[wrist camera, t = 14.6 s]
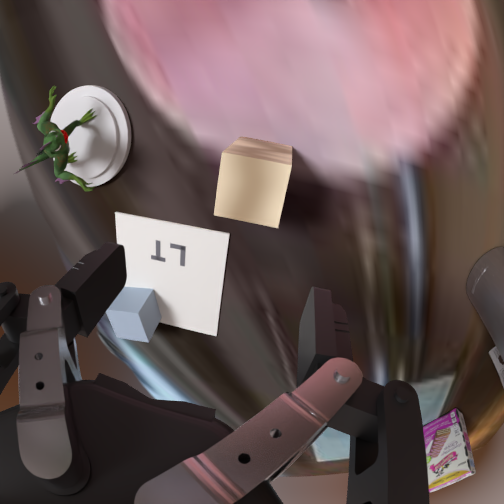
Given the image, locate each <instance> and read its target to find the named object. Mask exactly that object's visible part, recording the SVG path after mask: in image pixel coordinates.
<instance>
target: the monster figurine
mask: <svg viewBox="0 0 504 504" xmlns="http://www.w3.org/2000/svg"><path fill="white" fill-rule="evenodd" d="M54 86H55V85H54ZM54 86H53V87H52V88H51V89H50V92H49V94H50V97H49V101H50V106H49V108H48V109H47V110H46V111H45V112H43V113H42V115H40V116H38V117H36V119H37V121H36V122H35V123H32V124H36V123H38V124H37V128H38V129H39V130H40V131H41V132H42V133H43V134H44V135H45V136H44V137H45V139H44V145H43V146H42V148H40V150H42V151H40V153H39V156H38V157H37V158H35V159H34V160H33V161H31V162H30V163H28V164H26V165H24V166H22V168H21V169H20V170H19V171H21V170H23V169H25V168H28V167H30V166H32V165H34V164H37V163H39V162H41V161H43V160H45V159H47V158H53V159H54V173H55V176H56V177H58V179H57V180H56V181H60V184H61V183H63V182H65V181H70V180H71V181H72V182H74V183H76V184H78V185H80V186H82V188H83V189H84V190H85V191H93V190H90V189H92V188H94V187H93V186H98V185H101V184H103V183H105V182H107V181H108V180H110V179H112V178H113V177H114V176H115V175H116V174H117V173H118V172H119V171H120V170H121V168H122V167H123V165H124V163H125V162H126V159H127V157H128V154H129V150H130V146H131V126H130V120H129V117H128V114H127V111H126V109H125V107H124V105H123V104H122V102H121V101H120V99H119V98H118V97H117V96H116V95H115V94H114V93H112V92H111V91H110V90H108V89H106V88H104V87H100V86H94V85H89V86H82V87H78V88H76V89H73V90H72V91H70V92H69V93H67V94H66V95H65V96H64V97H63V98H62V99H61V100H60V102H59V103H58V104H57V106H56V108H55V110H54V112H53V114H52V118H51V121H48V119H49V117H50V115H51V113H52V111H53V107H54V104H55V98H56V96H57V95H55V96H54V97H53V95H52V94H53V93H54V90H55V89H56V87H55V88H54ZM53 88H54V89H53ZM52 89H53V90H52ZM41 152H42V154H41ZM37 155H38V153H37ZM37 155H36V156H37ZM19 171H18V172H19ZM56 181H55V182H56ZM89 187H90V188H89Z"/></svg>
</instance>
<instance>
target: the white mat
mask: <svg viewBox="0 0 504 504" xmlns="http://www.w3.org/2000/svg"><path fill="white" fill-rule="evenodd" d="M115 217H116V234H117V244H120V245H123V246H124V248H125V258H126V270H127V280H126V284H125V286H124V287H136V288H150V289H153V290H154V293H155V297H156V300H157V304H158V307H159V310H160V314H161V317H162V318H161V320H160V322H161V323H165V324H168V325H172V326H176V327H180V328H184V329H188V330H192V331H196V332H201V333H205V334H209V335H214V336H217V329H218V321H219V312H220V304H221V296H222V288H223V280H224V272H225V265H226V257H227V250H228V242H229V235H230V233H225V232H220V231H215V230H210V229H204V228H199V227H194V226H189V225H184V224H178V223H173V222H168V221H163V220H157V219H152V218H147V217H141V216H136V215H131V214H125V213H120V212H115Z"/></svg>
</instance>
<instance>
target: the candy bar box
mask: <svg viewBox="0 0 504 504" xmlns="http://www.w3.org/2000/svg"><path fill="white" fill-rule="evenodd" d="M423 432H424V440H425V448H426V458H427V469H428V484H429V492H433V491H436V490H438V489H441V488H443V487H446V486H448V485H450V484H453V483H455V482H457V481H460V480H462V479H464V478H466V477H468V476H470V475H472V474H475V473H476V471H475V465H474V461H473V455H472V451H471V446H470V442H469V438H468V434H467V430H466V425H465V422H464V418H463V415H462V413H461V412H460V411H459V410H458V409H457V408H455V409H453V410H452V411H450V412H448V413H446V414H445V415H443V416H441V417H439V418H437V419H436V420H434V421H432V422H430V423H428V424H426V425H424V426H423Z"/></svg>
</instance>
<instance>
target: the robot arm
mask: <svg viewBox="0 0 504 504" xmlns="http://www.w3.org/2000/svg"><path fill="white" fill-rule="evenodd" d="M126 280H127V270H126V258H125V248H124V246H123V245H120V244H116V243H111V242H106V243H105V244H104V245H103V246H101V247H100V248H99V249H98V250H95V251H93V252H91V253H89V254H87V255H85V256H84V257H83V258H82V259H81V260H80V261H79V263H77V264H76V265H75V266H74V267H73V268H71V269H70V270H69V271H68V272H67V273H66V274H65V276H63V277H62V278H61V279H60V280H59V281H58V282H57V284H55V286H52V285H45V286H42V287H39V288H37V289H36V290H34V291H33V292H32V293H31V295H30V294H18V292H17V289H16V286H15V285H14V284H13V283H11V282H3V283H0V326H1V325H2V327H3V330H4V332H5V333H4V335H3V336H2V337H1V338H0V394H1V393H2V391H3V389H4V388H5V386H6V384H7V383H8V381H9V379H10V378H11V376H12V375H13V373H14V371H15V370H16V369H17V367H18V365H19V403H20V404H19V405H16V406H14V407H11V408H9V409H6V410H4V411H2V412H0V504H283V502H282V501H281V499H280V498H279V497H278V495H277V493H276V492H275V490H274V489H273V487H272V486H271V484H270V483H272V482H273V481H274V480H275V479H276V478H277V477H278V476H280V475H281V474H282V473H283V472H284V471H285V470H286V469H287V468H288V467H289V466H290V465H291V464H292V463H293V462H294V461H295V460H296V459H297V458H298V457H299V456H300V455H301V454H302V453H303V452H304V451H305V450H306V449H307V448H308V447H309V446H310V445H311V444H312V443H313V442H314V441H315V440H316V439H317V438H318V437H319V436H320V435H321V434H322V433H323V432H324V431H325V430H326V429H327V428H328V427H331V428H333V429H336V430H338V431H341V432H343V433H346V434H349V435H350V458H349V477H348V491H347V503H346V504H429V484H428V469H427V458H426V448H425V440H424V432H423V425H422V418H421V411H420V405H419V399H418V395H417V393H416V391H415V389H414V388H413V387H412V386H411V385H409V384H408V383H406V382H404V381H400V380H393V381H390V382H389V383H387V384H386V386H385V387H384V386H382V385H379V384H377V383H374V382H371V381H369V380H367V379H365V378H364V377H363V376H362V372H361V370H360V368H359V367H358V366H357V365H356V364H355V363H354V362H353V357H352V349H351V341H350V334H349V327H348V320H347V314H346V312H345V311H344V309H343V308H342V306H341V305H340V304H334V303H332V297H331V291H330V290H327V289H322V288H317V287H312V288H311V290H310V293H309V296H308V299H307V302H306V305H305V308H304V311H303V314H302V317H301V321H300V327H299V350H298V372H297V389H296V390H295V391H293V392H292V393H289V392H286V393H284V394H282V395H281V396H280V397H278V398H277V399H276V400H275V401H273V402H272V403H271V404H270V405H268V406H267V407H266V408H264V409H263V410H262V411H261V412H259V413H258V414H257V415H255V416H254V417H253V418H251V419H250V420H249V421H247V422H246V423H245V424H243V425H242V426H241V427H239V428H238V429H236V430H235V431H234V430H233V429H232V428H231V427H229V426H228V425H227V424H225V423H224V422H222V421H220V420H218V419H216V418H215V410H216V409H212V408H208V407H203V406H199V405H196V404H192V403H188V402H184V401H168V400H156V399H151V398H148V397H147V396H145V395H143V394H142V393H140V392H139V391H137V390H136V389H134V388H132V387H130V386H129V385H128V384H126V383H124V382H122V381H119V380H116V379H114V378H111V377H109V376H106V375H104V374H101V373H99V375H98V376H97V378H96V380H82V379H81V375H80V369H79V363H78V355H77V347H76V341H75V337H76V335H77V334H80V335H82V336H85V337H88V336H89V334H90V333H91V331H92V330H93V329H94V327H95V326H96V324H97V323H98V322H99V320H100V319H101V318H102V316H103V315H104V313H105V312H106V311H107V309H108V308H109V307H110V305H111V304H112V303H113V301H114V300H115V299H116V297H117V296H118V295H119V293H120V292H121V291H122V289H123V288H124V286H125V284H126ZM466 291H467V295H468V297H469V299H470V301H471V302H472V304H473V306H474V307H475V309H476V311H477V312H478V314H479V316H480V318H481V320H482V321H483V323H484V325H485V327H486V328H487V330H488V332H489V334H490V336H491V337H492V339H493V341H494V343H495V345H496V347H497V349H498V351H499V353H500V355H501V357H502V359H503V361H504V247H498V248H494V249H492V250H490V251H489V252H487V253H486V254H484V255H483V256H482V257H481V258H480V259H479V260H478V261H477V263H476V264H475V265H474V267H473V269H472V270H471V272H470V275H469V277H468V280H467V286H466Z"/></svg>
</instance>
